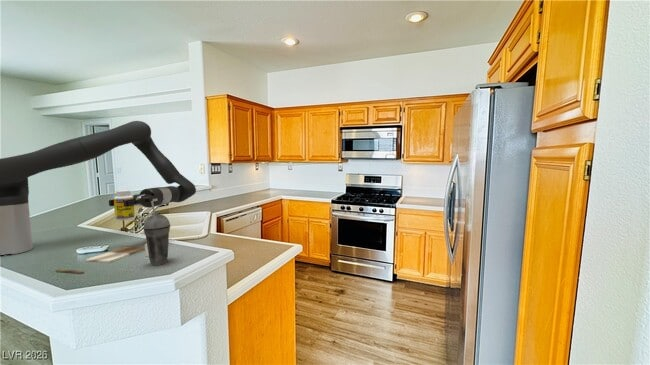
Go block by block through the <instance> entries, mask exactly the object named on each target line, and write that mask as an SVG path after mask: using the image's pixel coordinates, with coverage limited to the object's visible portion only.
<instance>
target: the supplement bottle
mask: <svg viewBox="0 0 650 365" xmlns="http://www.w3.org/2000/svg"><path fill="white" fill-rule="evenodd" d="M115 193H116V196H114V197H113V199H114V206H113V207H114V208H113V209H114V219H115V220H116V221H128V220H133V219H134V218H135V205H134V206H128V207H125V206H124V201H125V200H130V199H133V196H132V195H133V194H131V190H130V189H123V190H122V189H121V190H116V192H115Z"/></svg>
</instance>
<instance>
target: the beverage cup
mask: <svg viewBox="0 0 650 365" xmlns="http://www.w3.org/2000/svg"><path fill="white" fill-rule="evenodd" d="M151 203H152V207H151V208H152V215H150V216H149V217H147V218H146V219H145V221H144V223H143V228H142V229H143V232H144V235H145V241H146V244H147V247H148V253H149V256H148V259H149V262H150V266H154V267H155V266H161V265H165V264H166V263H168V258H169V257H168V255H169V237H170V236H169V235H170V229H171V223H170V220H169V218H167V217H166V216H165V215H163V214H160V213H156V210H155V207H154V203H153V201H151Z"/></svg>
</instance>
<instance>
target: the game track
mask: <svg viewBox="0 0 650 365" xmlns="http://www.w3.org/2000/svg"><path fill="white" fill-rule="evenodd" d="M141 251H145V246H137V245H136V246H135V245H134V246H133V245H124V246H120V247H119V248H115V249H113V250H110V251H106V252H104V253H100V254H97V255H96V256H92V257H88V258H86V259H85V262H95V263H107V264H111V263H113V262H115V261H119V260H121V259H123V258H127V257H129V256H130V255H133V254H136V253H139V252H141ZM55 273H64V274H65V273H67V274H78V275H82V274H85V271H84V270H73V269H61V268H58V269H56V270H55Z"/></svg>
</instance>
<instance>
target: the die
mask: <svg viewBox="0 0 650 365" xmlns="http://www.w3.org/2000/svg"><path fill="white" fill-rule="evenodd" d="M144 247H145V249H144V254H145V255H144V257H149V253H148V247H147V243H144Z"/></svg>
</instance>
